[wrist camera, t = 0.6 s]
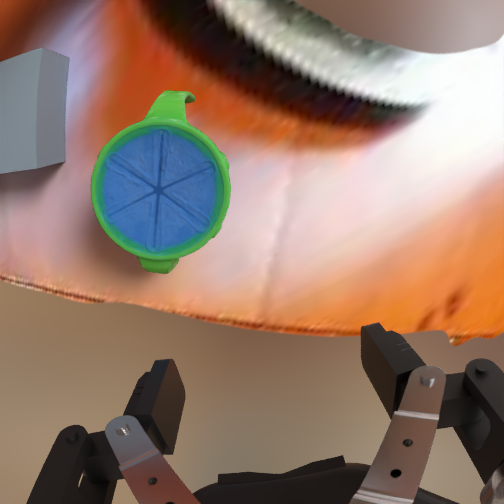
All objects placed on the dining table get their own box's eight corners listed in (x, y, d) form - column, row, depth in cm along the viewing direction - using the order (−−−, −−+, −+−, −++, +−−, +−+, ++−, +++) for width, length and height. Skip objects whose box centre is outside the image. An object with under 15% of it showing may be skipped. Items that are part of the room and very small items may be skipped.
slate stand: (-15, 84, 23) (-44, 82, 17) (69, 57, 24) (42, 47, 18) (-16, 173, 27) (-46, 182, 22) (65, 161, 28) (36, 168, 23)
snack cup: (211, 255, 34) (206, 303, 24) (119, 235, 32) (82, 274, 23) (247, 111, 28) (256, 99, 19) (145, 92, 27) (110, 75, 17)
